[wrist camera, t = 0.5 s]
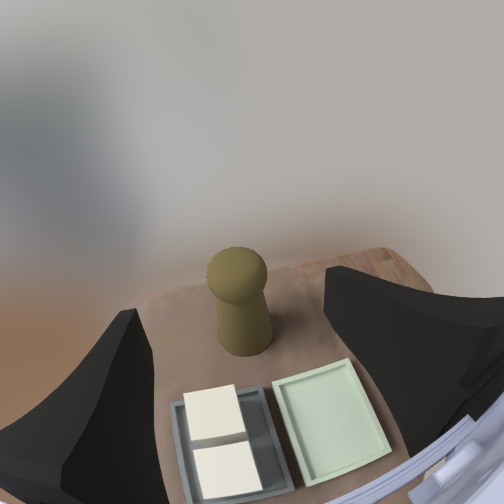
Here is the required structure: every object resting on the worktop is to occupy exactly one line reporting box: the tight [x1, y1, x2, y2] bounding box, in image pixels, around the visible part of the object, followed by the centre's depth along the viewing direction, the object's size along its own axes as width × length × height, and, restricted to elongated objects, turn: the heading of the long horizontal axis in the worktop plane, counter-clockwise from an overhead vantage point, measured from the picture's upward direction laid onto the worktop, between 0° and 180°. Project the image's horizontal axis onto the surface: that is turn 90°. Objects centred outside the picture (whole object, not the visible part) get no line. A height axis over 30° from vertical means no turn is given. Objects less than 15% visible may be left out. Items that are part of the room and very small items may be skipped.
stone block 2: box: [193, 441, 264, 499], centre depth 16 cm, size 4×4×4 cm
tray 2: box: [272, 358, 392, 487], centre depth 21 cm, size 11×8×1 cm
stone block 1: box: [183, 384, 250, 449], centre depth 20 cm, size 4×4×4 cm
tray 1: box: [169, 385, 295, 504], centre depth 20 cm, size 11×9×1 cm
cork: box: [206, 247, 273, 357], centre depth 26 cm, size 6×6×11 cm
